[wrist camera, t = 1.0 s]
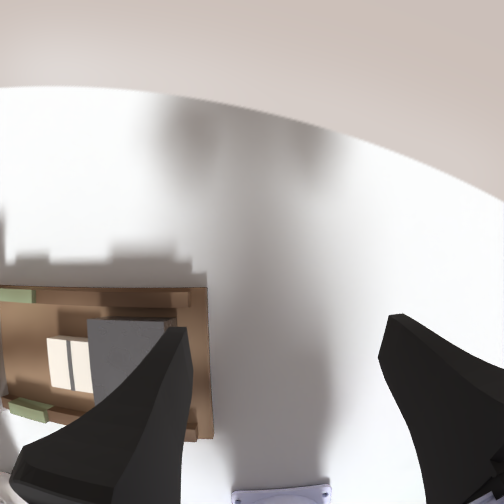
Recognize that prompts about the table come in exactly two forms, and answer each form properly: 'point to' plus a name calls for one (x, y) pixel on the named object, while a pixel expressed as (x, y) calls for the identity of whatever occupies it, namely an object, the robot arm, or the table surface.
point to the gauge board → (75, 324)
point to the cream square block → (69, 363)
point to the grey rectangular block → (120, 348)
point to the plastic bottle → (8, 491)
